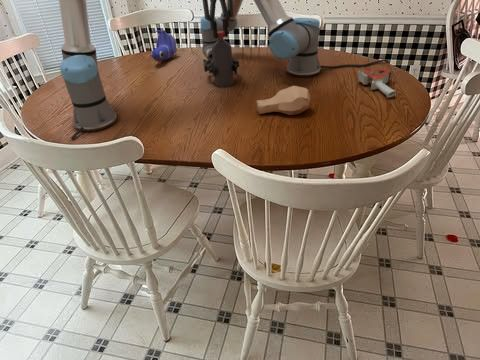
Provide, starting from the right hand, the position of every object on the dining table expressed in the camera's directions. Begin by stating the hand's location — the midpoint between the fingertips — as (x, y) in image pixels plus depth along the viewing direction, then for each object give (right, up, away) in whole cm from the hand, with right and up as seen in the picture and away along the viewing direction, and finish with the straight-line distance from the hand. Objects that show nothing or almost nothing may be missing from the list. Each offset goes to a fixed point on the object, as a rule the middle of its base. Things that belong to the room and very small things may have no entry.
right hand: (225, 71), depth 151 cm
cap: (-2, +15, -5) cm, 16 cm away
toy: (-34, +17, +38) cm, 54 cm away
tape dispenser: (+62, -8, -5) cm, 63 cm away
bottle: (-1, -3, +8) cm, 8 cm away
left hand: (-2, +13, -4) cm, 14 cm away
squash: (+22, -21, -19) cm, 36 cm away
